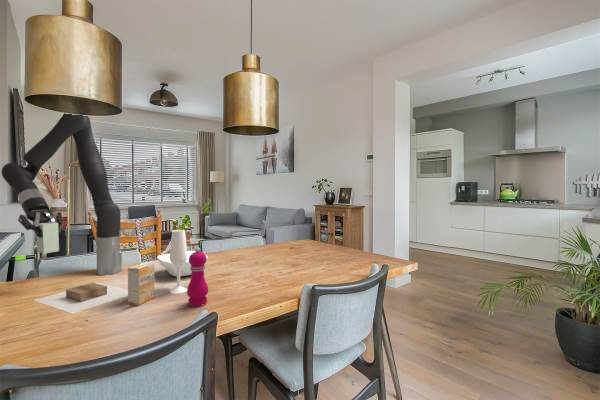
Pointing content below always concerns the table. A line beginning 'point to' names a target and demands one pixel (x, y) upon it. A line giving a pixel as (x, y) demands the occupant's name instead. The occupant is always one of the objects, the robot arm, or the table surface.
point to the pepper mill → (197, 279)
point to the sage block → (48, 238)
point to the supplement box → (140, 283)
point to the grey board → (75, 306)
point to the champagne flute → (178, 256)
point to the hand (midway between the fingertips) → (50, 234)
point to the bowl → (173, 269)
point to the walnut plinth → (86, 292)
